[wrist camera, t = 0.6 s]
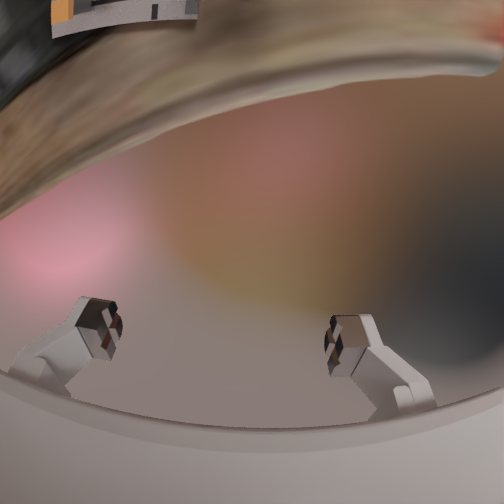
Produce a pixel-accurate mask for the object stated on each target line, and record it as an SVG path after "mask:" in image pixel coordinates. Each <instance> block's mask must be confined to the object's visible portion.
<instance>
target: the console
mask: <svg viewBox="0 0 504 504" xmlns="http://www.w3.org/2000/svg"><path fill="white" fill-rule="evenodd" d="M53 1H57V0H52V2H53ZM199 1H200V0H92V1H91V11H90V12H85V13H81V14H78V15H74V16H73V19H71V20H67V21H64V22H60V23H57V24H53V25H52V39H53V38H57V37H60V36H64V35H68V34H72V33H76V32H80V31H85V30H90V29H95V28H100V27H106V26H112V25H119V24H126V23H134V22H144V21H156V20H177V19H197V18H198V9H199Z"/></svg>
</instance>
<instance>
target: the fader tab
mask: <svg viewBox="0 0 504 504" xmlns="http://www.w3.org/2000/svg"><path fill="white" fill-rule="evenodd" d="M91 1H92V0H57V1H53V2H51V25H53V24H57V23H60V22H64V21H67V20H71V19H73V16H74V15H78V14H81V13H85V12H90V11H91Z"/></svg>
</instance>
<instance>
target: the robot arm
mask: <svg viewBox="0 0 504 504" xmlns="http://www.w3.org/2000/svg"><path fill="white" fill-rule="evenodd" d="M117 309H118V307H117V305H116V302H114V301H109V300H102V299H97V298H90V297H84V296H82V297H80V298H79V299H78V301H77V302H76V304H75V306H74V307H73V309H72V311H71V312H70V314H69V315H68V317H67V319H66V320H65V322H64V324H59V325H58V326H56V327H55V328H53V329H51V330H50V331H48V332H47V333H45V334H44V335H42V336H41V337H39V338H37V339H36V340H34V341H33V342H31V343H30V344H28V345H27V346H25V347H24V348H22V349H21V350H20V351H19V353H18V355H17V357H16V358H15V360H14V362H13V364H12V366H11V367H10V369H9V371H8V373H7V372H5V371H2V370H0V504H504V387H498V388H494V389H492V390H489V391H486V392H484V393H481V394H478V395H475V396H472V397H469V398H466V399H463V400H460V401H457V402H453V403H450V404H446V405H443V406H439V407H437V404H436V401H435V398H434V395H433V393H432V390H431V387H430V385H429V382H428V380H427V379H426V378H424V377H423V376H422V375H421V374H420V373H418V372H417V371H416V370H415V369H414V368H413V367H411V366H410V365H409V364H408V363H406V362H405V361H404V360H403V359H401V357H399V356H398V355H397V354H396V353H394V352H393V351H392V350H391V349H390V348H389V347H387V346H383V343H382V341H381V338H380V336H379V333H378V330H377V328H376V325H375V323H374V320H373V318H372V316H371V315H370V314H363V315H361V314H359V315H333V316H332V317H331V319H330V326H331V327H330V328H329V329H328V330H327V331H326V334H325V339H324V349H325V354H326V355H327V356H328V357H329V360H328V362H327V365H328V369H329V374H330V377H350V376H351V379H352V380H353V381H354V382H355V383H356V384H357V385H358V387H359V388H360V389H361V390H362V391H363V393H364V394H365V395H366V396H367V397H368V398H369V400H370V401H371V402H372V403H373V404H374V406H375V407H376V408H377V410H376V411H375V412H374V413H373V414H372V415H371V417H370V418H369V419H368V421H366V422H359V423H351V424H342V425H331V426H318V427H302V428H245V427H244V428H243V427H225V426H213V425H202V424H193V423H185V422H178V421H170V420H164V419H158V418H152V417H147V416H142V415H137V414H132V413H127V412H122V411H118V410H114V409H110V408H106V407H102V406H98V405H95V404H91V403H87V402H84V401H81V400H77V399H74V398H71V394H70V393H69V391H68V390H67V389H66V387H65V386H64V385H65V384H66V383H67V382H69V381H70V380H71V379H72V378H73V377H74V376H75V375H76V374H77V373H78V372H79V371H80V370H81V369H82V368H84V367H85V366H86V365H87V364H88V363H89V362H90V361H91V360H92V359H93V358H97V359H102V360H108V361H111V360H112V357H113V355H114V352H115V350H116V346H115V343H116V342H117V341H118V340H119V339H120V337H121V335H122V329H123V325H122V319H121V317H120V316H119V315H118V314H117V313H116V311H117Z"/></svg>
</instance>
